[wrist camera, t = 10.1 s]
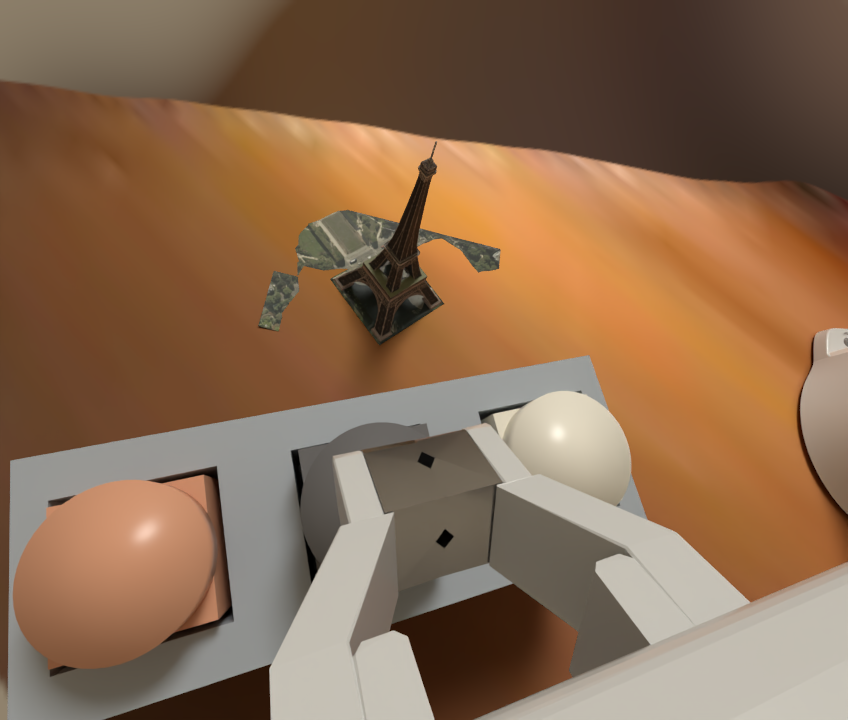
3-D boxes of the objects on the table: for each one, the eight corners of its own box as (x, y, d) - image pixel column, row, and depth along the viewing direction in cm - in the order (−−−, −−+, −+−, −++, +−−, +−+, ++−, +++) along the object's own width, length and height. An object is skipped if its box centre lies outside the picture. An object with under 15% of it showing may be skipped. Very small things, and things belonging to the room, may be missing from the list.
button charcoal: (399, 442, 22) (438, 409, 15) (422, 545, 21) (477, 563, 13) (298, 464, 20) (288, 439, 13) (316, 576, 19) (315, 613, 12)
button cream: (524, 418, 25) (605, 381, 18) (550, 505, 24) (649, 502, 17) (444, 435, 24) (498, 403, 17) (467, 529, 22) (536, 537, 15)
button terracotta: (240, 480, 21) (200, 463, 14) (254, 590, 20) (217, 634, 13) (124, 505, 20) (13, 501, 12) (130, 625, 18) (11, 697, 11)
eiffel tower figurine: (500, 252, 33) (609, 96, 21) (490, 381, 30) (614, 287, 17) (295, 200, 31) (280, -10, 18) (257, 335, 27) (206, 186, 15)
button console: (510, 400, 29) (589, 355, 20) (548, 529, 27) (653, 536, 18) (123, 479, 23) (10, 460, 14) (132, 654, 21) (6, 751, 12)
